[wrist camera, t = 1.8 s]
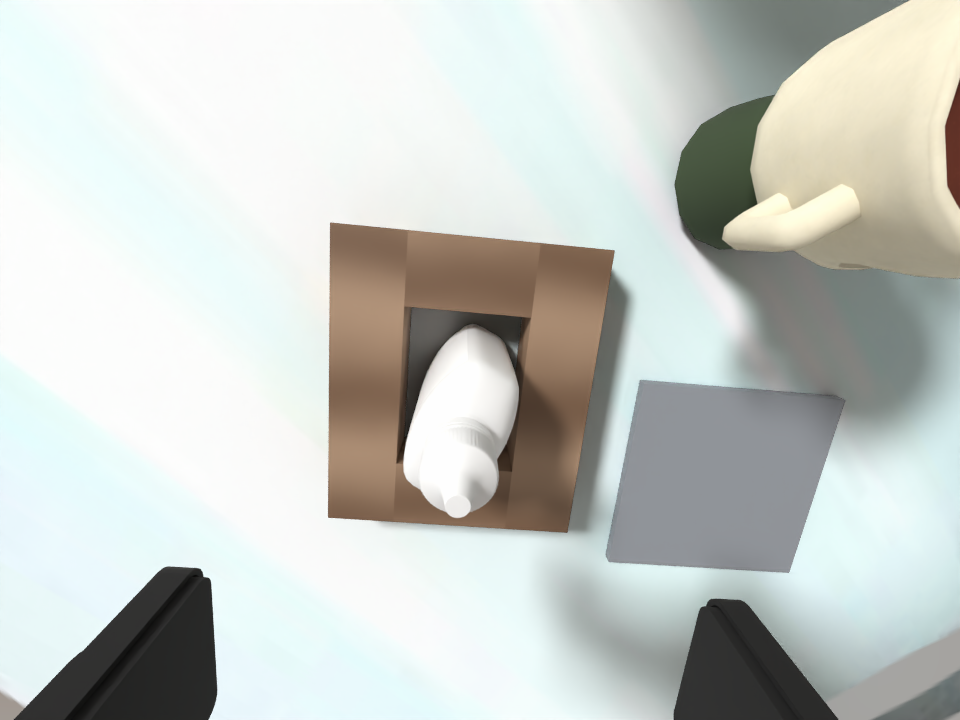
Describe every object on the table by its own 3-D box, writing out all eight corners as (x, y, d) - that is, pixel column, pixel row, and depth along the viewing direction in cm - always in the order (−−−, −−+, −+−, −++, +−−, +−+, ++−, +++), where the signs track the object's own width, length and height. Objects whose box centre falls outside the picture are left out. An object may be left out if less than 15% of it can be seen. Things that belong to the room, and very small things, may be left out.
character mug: (657, 302, 23) (888, 383, 10) (597, 171, 21) (788, 79, 9) (862, 191, 22) (1400, 131, 9) (817, 43, 20) (1406, -280, 7)
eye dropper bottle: (393, 366, 23) (323, 493, 12) (486, 311, 23) (508, 389, 11) (438, 432, 24) (413, 609, 13) (528, 381, 24) (587, 518, 12)
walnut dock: (348, 224, 21) (330, 222, 19) (595, 248, 22) (614, 250, 19) (344, 485, 25) (328, 517, 22) (555, 499, 26) (567, 532, 23)
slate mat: (639, 379, 24) (644, 383, 23) (836, 396, 25) (845, 399, 24) (605, 554, 27) (608, 561, 26) (782, 565, 27) (789, 572, 27)
